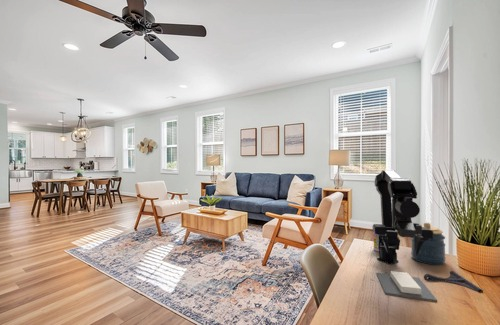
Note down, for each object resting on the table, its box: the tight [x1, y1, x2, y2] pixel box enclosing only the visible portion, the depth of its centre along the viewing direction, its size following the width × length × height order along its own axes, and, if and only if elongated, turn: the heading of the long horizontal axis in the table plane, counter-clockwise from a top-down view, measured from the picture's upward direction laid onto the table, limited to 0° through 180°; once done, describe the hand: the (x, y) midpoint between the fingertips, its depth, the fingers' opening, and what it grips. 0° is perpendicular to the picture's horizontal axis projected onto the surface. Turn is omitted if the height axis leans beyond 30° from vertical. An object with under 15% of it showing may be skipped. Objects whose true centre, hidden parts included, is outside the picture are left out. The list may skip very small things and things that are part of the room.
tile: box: [389, 270, 422, 295], centre depth 85 cm, size 2×6×12 cm
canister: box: [410, 221, 447, 266], centre depth 109 cm, size 13×13×18 cm
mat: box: [375, 272, 438, 303], centre depth 86 cm, size 16×15×1 cm
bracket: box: [423, 270, 484, 293], centre depth 89 cm, size 14×15×3 cm
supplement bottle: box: [373, 232, 379, 252], centre depth 122 cm, size 7×7×13 cm
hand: (401, 253), depth 87 cm, fingers open, 9 cm apart
